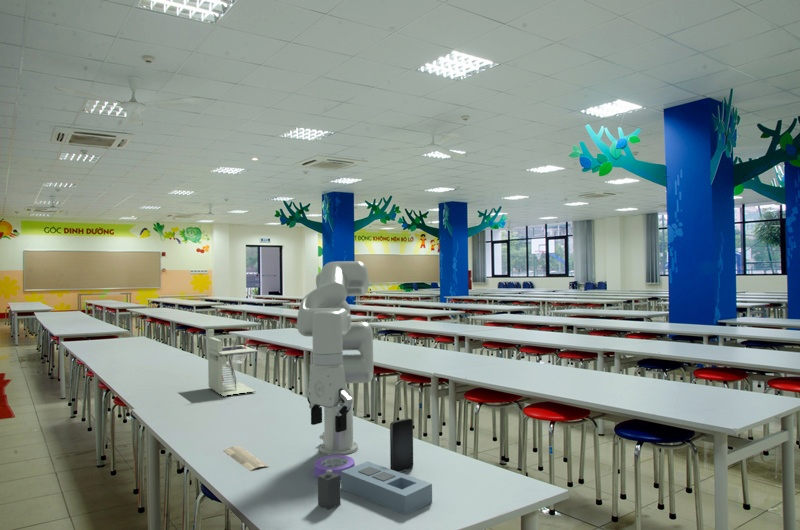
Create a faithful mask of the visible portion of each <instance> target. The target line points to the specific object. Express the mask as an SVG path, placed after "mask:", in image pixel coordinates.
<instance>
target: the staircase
mask: <svg viewBox="0 0 800 530" xmlns="http://www.w3.org/2000/svg"><path fill="white" fill-rule="evenodd" d="M249 342H250V339H249V338H246V340H245V343H244V345H243V344H241V345H237V342H236V339H234V341H233V344H232V345H228V346H223V340H221V339H219V338H217V337H215V329H208V330H207V349H208V350H207V360H208V362H207V363H208V366H207V367H208V368H207V369H208V371H207V373H208V375H207V376H208V377H207V378H208V379H207V380H208V388H210V389H211V390H212V391H214V392H216V393H217V394H219V395H220V394H221V395H222V396H221V395H220V396H221V397H223V396H224V397H228V396H227V395H231V396H234V395H233V394H238V395H240V394H239V393H245V394H248V393H247V392H252V393H256V392H257V391H256V390H255V389H253V388H251V387H249V386H247V385H246V384H244V383H242V382H237V377H236V372H235V369H234V365H241V364H242V365H244V363H245V360H246V357H247V355H248V354H255V353H257V352H258V351H259V350H257V349H256V348H255V349H254V348H252V347H249V346H247V344H248V343H249ZM226 356H228V358H227V357H226Z"/></svg>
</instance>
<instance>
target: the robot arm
mask: <svg viewBox="0 0 800 530" xmlns="http://www.w3.org/2000/svg"><path fill="white" fill-rule="evenodd" d="M369 278H370V277H369V271H368V267H367V265H366V264H364V263H363V262H362V261H355V260H354V261H353V260H351V261H350V260H349V261H348V260H346V261H344V260H343V261H341V260H340V261H338V260H337V261H336V260H335V261H329V262H326V264H325V265H324V266H322V268H321V271H320V272H319V273H317V274H316V277H315V286H316V288H315V289H313V290H312V291H310V292H309V293H308V294H306V295H305V296H304V297H303V298H302V299H301V301H300V304H299V308H298V312H297V318H296V328H297V331H298V333H299V334H300V335H301V336H303V337H312V364H311V366H310V372H309V377H308V379H309V381H308V388H307V389H305V393H306V397H307V402H308V407H309V409H310V425H312V426H315V425H319V424H322V422H323V423H324V424H323V426H324V432H322V434H320V435H319V439H320V440H322V441H323V443H322V444H321V445H320V446H319V451H320V453H322V452H323V453H322V454H324V453H325V455H327V454H330V455H329V456H333V455H343V456H347V455H350V454H352V453H355V452H356V451H357V450H358V449H359V448H358V447H359V444H358V443H357V442H355V441H354V423H353V422H354V418H353V417H354V412H353V411H354V409H353V408H354V407H353V406H354V405H353V403H354V402H353V400H354V398H353V394H352V393H351V391H350V389H349V388H348V386H347V384H367V383H369V382H371V381H372V380H373V377H374V338H373V329H372V327H371V325H370V324H369V323H368V322H365V321H352V316H351V307H350V305H349V303H348V302H347V300H346V299H347V297H361V296H365V295H366V294H367V293H368V291H369V287H370V285H369V284H370V281H369V280H370V279H369ZM343 351H357V352H359V354H355V353H354V354H343ZM323 408H324V409H323ZM323 410H324V412H323ZM323 414H324V416H323ZM323 417H324V419H323Z"/></svg>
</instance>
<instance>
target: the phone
mask: <svg viewBox="0 0 800 530" xmlns="http://www.w3.org/2000/svg"><path fill="white" fill-rule="evenodd" d="M413 426H414V422H413V419H412V418H409V417H406V418H403V419H399V420H394V421H391V423H389V441H390V442H389V449H390V450H389V451H390V452H389V453H390V455H389V456H390V457H389V460H390V461H389V462H390V463H389V464H390V466H389V467H390V468H389V469H391V470H394V471H397V472H400V473H402V472H404V471H407V470H411V469H413V467H414V427H413Z"/></svg>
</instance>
